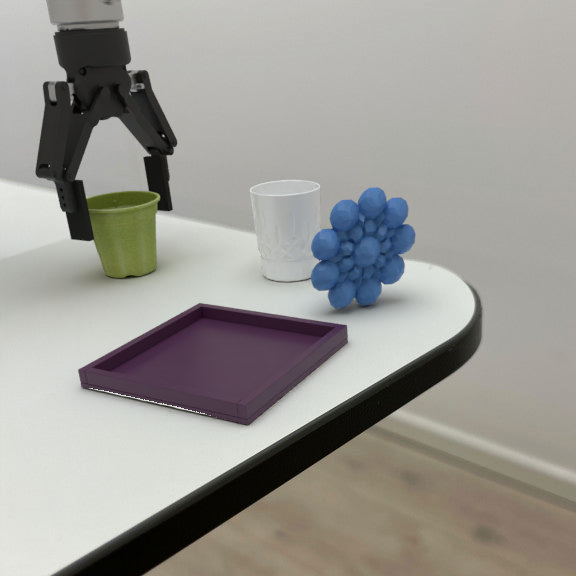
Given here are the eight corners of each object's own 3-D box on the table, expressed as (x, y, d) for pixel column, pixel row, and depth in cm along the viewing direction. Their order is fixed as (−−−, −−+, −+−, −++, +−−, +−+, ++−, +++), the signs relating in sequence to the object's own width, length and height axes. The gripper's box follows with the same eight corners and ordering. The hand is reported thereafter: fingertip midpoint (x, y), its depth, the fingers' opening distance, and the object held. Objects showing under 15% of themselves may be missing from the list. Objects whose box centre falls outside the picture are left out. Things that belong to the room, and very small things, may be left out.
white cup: (305, 287, 85) (298, 197, 80) (244, 279, 88) (235, 192, 84) (336, 266, 91) (332, 181, 87) (279, 259, 94) (272, 178, 90)
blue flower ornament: (395, 283, 85) (393, 174, 80) (426, 302, 79) (426, 185, 74) (297, 303, 80) (289, 188, 75) (323, 324, 75) (315, 201, 70)
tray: (81, 387, 64) (77, 369, 63) (201, 318, 77) (199, 302, 77) (248, 425, 57) (245, 405, 56) (348, 342, 70) (347, 325, 70)
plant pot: (131, 288, 87) (118, 212, 83) (73, 277, 91) (58, 205, 87) (186, 264, 94) (176, 193, 90) (130, 255, 98) (118, 188, 95)
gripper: (20, 31, 69) (69, 257, 78) (190, 21, 90) (213, 201, 98) (-36, 34, 72) (17, 251, 81) (140, 23, 93) (167, 198, 102)
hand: (125, 224), depth 90 cm, fingers open, 13 cm apart
